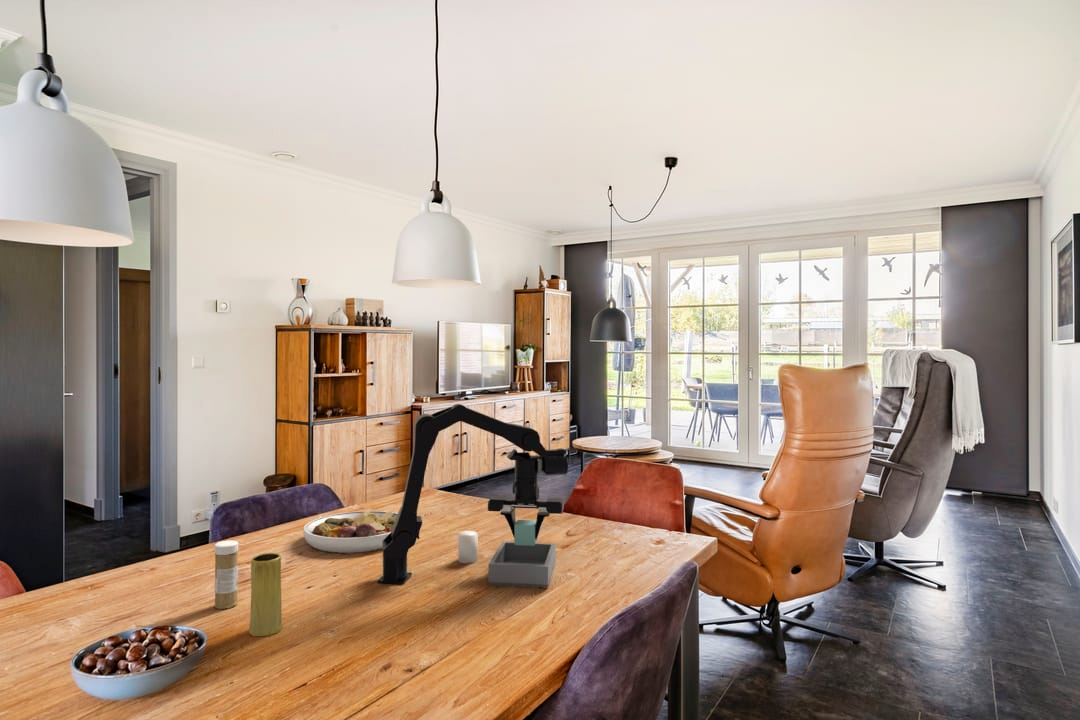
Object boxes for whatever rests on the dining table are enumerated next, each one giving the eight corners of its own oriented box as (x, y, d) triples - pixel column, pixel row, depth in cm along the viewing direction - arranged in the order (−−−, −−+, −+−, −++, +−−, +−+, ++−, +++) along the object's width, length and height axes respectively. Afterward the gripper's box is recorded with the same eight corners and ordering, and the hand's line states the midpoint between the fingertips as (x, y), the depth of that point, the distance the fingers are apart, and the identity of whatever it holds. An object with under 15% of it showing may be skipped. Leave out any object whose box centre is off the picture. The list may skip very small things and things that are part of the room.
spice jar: (219, 601, 134) (219, 539, 134) (241, 601, 135) (241, 539, 135) (210, 610, 130) (210, 546, 130) (233, 609, 130) (233, 545, 130)
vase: (245, 639, 117) (246, 563, 117) (251, 625, 123) (252, 553, 123) (280, 635, 118) (280, 560, 118) (284, 622, 124) (285, 551, 124)
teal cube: (536, 540, 159) (537, 520, 159) (534, 545, 154) (534, 525, 154) (517, 539, 160) (517, 519, 160) (514, 545, 155) (514, 524, 155)
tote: (548, 588, 143) (548, 566, 143) (488, 585, 145) (488, 564, 145) (555, 562, 161) (555, 543, 161) (502, 560, 163) (502, 541, 163)
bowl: (297, 533, 187) (297, 507, 187) (396, 522, 201) (396, 497, 201) (310, 563, 161) (310, 533, 161) (423, 547, 174) (423, 519, 174)
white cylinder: (475, 563, 160) (475, 536, 160) (456, 563, 160) (456, 536, 160) (479, 557, 165) (479, 531, 165) (460, 556, 165) (461, 530, 165)
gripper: (565, 472, 164) (565, 531, 164) (496, 470, 166) (495, 528, 166) (562, 480, 152) (561, 543, 153) (487, 478, 155) (487, 540, 155)
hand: (525, 538), depth 157 cm, fingers closed on teal cube, 5 cm apart
